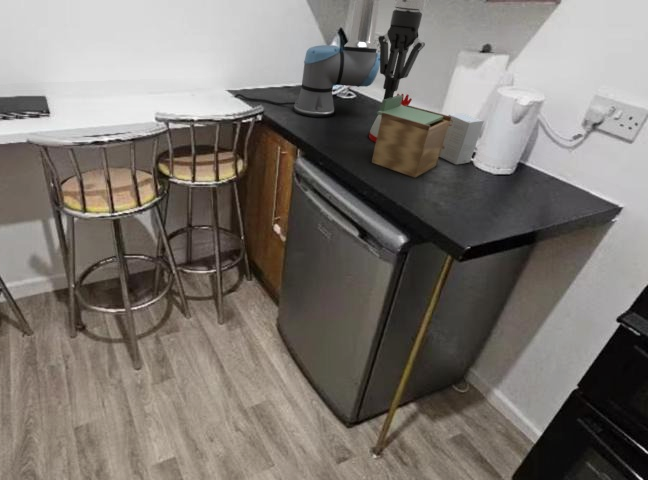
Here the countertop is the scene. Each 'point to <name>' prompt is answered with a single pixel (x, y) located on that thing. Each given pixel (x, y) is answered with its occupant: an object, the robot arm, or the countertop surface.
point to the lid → (407, 111)
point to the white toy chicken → (376, 124)
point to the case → (409, 143)
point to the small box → (461, 138)
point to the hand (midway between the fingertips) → (387, 101)
